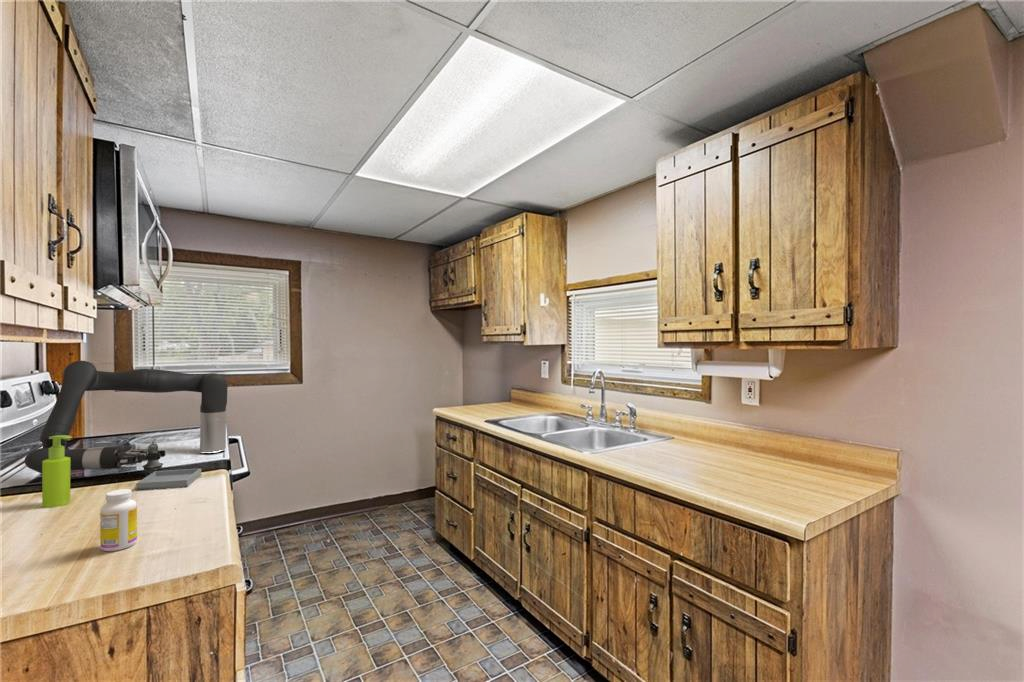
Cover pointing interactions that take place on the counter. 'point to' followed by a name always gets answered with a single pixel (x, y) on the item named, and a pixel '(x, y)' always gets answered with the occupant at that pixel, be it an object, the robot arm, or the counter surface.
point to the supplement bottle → (118, 521)
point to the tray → (168, 479)
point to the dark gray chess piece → (152, 463)
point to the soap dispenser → (56, 475)
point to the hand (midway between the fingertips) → (162, 454)
